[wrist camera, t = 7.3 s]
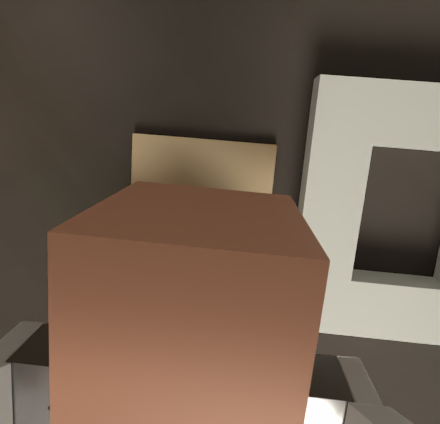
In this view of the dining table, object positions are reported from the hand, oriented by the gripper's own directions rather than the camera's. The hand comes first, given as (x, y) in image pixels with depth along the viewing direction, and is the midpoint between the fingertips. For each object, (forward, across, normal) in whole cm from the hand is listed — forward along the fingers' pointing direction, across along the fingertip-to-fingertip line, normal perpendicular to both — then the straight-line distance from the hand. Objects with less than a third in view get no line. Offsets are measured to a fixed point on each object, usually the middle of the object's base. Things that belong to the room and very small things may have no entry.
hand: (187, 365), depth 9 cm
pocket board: (+20, -12, 0) cm, 23 cm away
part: (+3, 0, 0) cm, 3 cm away
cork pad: (+20, +2, +1) cm, 20 cm away
